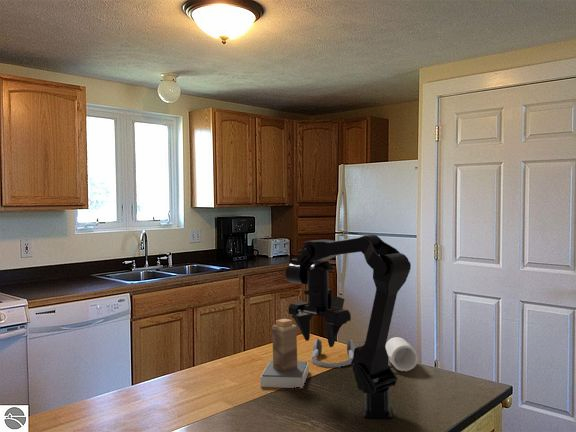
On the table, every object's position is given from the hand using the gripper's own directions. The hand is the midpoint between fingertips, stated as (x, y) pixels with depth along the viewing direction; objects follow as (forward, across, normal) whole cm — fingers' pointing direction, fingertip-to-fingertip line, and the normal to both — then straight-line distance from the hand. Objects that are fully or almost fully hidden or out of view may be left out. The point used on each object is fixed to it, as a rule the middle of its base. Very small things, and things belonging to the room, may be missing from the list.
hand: (319, 343), depth 136 cm
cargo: (-3, +14, 0) cm, 14 cm away
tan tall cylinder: (+10, +14, 0) cm, 17 cm away
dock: (+13, +14, 0) cm, 19 cm away
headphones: (+14, +17, -25) cm, 33 cm away
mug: (+13, -1, -31) cm, 34 cm away
